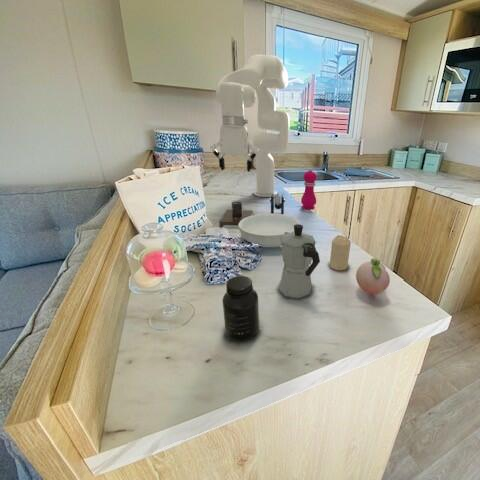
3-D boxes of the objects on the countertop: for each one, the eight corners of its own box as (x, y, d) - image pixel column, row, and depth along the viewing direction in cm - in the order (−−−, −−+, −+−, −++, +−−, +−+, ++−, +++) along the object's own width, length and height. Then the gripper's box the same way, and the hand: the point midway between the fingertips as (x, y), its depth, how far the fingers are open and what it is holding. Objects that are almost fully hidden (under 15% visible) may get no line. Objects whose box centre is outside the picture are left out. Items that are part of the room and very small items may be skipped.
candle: (349, 264, 87) (353, 235, 82) (344, 272, 82) (348, 242, 78) (332, 260, 88) (335, 231, 84) (327, 268, 83) (330, 238, 79)
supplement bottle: (229, 318, 60) (225, 272, 55) (260, 318, 61) (260, 272, 56) (221, 342, 54) (216, 292, 49) (257, 342, 55) (255, 292, 50)
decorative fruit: (351, 282, 77) (355, 251, 73) (379, 283, 78) (385, 252, 74) (357, 303, 69) (362, 269, 64) (389, 304, 69) (396, 270, 65)
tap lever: (274, 209, 120) (274, 202, 120) (281, 210, 120) (282, 203, 121) (273, 203, 107) (273, 195, 107) (281, 203, 108) (281, 195, 108)
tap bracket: (267, 218, 118) (267, 191, 113) (288, 218, 119) (289, 192, 114) (265, 228, 107) (264, 199, 102) (288, 229, 108) (289, 200, 103)
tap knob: (231, 217, 109) (230, 203, 106) (233, 213, 112) (232, 200, 110) (241, 217, 109) (241, 203, 107) (243, 214, 113) (242, 200, 111)
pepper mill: (313, 213, 128) (316, 170, 120) (298, 211, 129) (300, 168, 121) (317, 208, 135) (320, 167, 126) (302, 206, 136) (304, 165, 127)
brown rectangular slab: (227, 215, 118) (226, 209, 116) (253, 216, 119) (253, 210, 118) (220, 227, 105) (219, 221, 104) (249, 228, 106) (249, 222, 105)
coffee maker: (269, 281, 74) (269, 219, 67) (296, 273, 79) (299, 214, 72) (298, 312, 64) (302, 243, 56) (328, 300, 69) (335, 235, 61)
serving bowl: (269, 225, 111) (269, 209, 108) (310, 240, 100) (312, 223, 97) (226, 241, 95) (225, 222, 92) (270, 261, 84) (270, 241, 82)
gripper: (259, 123, 103) (259, 169, 110) (211, 119, 100) (214, 167, 108) (257, 124, 96) (258, 173, 103) (205, 120, 94) (210, 171, 101)
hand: (236, 170), depth 105 cm, fingers open, 9 cm apart
